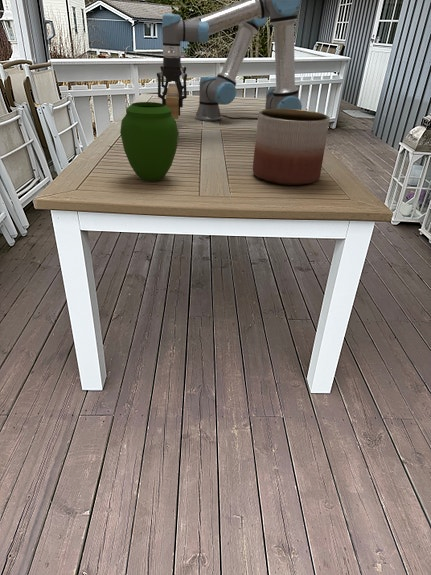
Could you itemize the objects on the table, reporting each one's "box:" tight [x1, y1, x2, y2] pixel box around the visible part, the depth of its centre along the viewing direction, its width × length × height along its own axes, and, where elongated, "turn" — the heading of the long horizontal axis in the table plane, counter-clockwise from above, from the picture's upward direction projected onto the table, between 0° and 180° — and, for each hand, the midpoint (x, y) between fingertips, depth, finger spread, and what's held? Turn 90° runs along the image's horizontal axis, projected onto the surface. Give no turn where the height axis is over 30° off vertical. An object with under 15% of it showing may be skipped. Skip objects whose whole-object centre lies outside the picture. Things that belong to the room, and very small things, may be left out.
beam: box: [165, 83, 180, 120], centre depth 202 cm, size 54×6×9 cm, turn 4°
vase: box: [119, 101, 179, 182], centre depth 140 cm, size 20×20×24 cm
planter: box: [252, 109, 331, 186], centre depth 150 cm, size 25×25×22 cm
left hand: (173, 102), depth 221 cm, fingers closed on beam, 5 cm apart
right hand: (172, 114), depth 188 cm, fingers closed on beam, 5 cm apart
